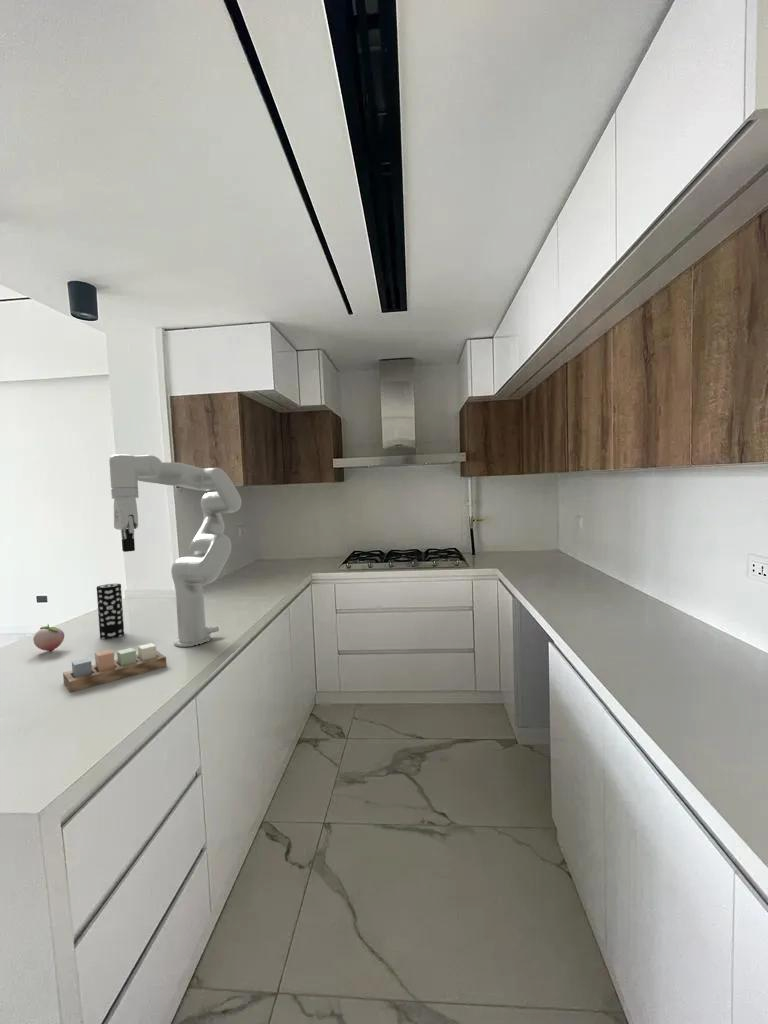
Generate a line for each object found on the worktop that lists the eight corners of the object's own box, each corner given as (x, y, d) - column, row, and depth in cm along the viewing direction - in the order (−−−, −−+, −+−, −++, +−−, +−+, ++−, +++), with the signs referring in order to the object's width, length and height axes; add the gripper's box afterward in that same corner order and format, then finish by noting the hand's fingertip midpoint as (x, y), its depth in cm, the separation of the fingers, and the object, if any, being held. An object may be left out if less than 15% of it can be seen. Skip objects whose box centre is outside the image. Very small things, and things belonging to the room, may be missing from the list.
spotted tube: (94, 638, 184) (91, 587, 183) (112, 632, 192) (109, 583, 191) (111, 639, 182) (108, 588, 181) (129, 633, 190) (125, 583, 189)
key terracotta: (111, 665, 147) (110, 649, 146) (114, 668, 144) (113, 652, 143) (95, 669, 144) (94, 652, 144) (99, 672, 141) (98, 656, 141)
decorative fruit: (27, 655, 167) (25, 627, 166) (49, 647, 175) (47, 621, 174) (49, 656, 165) (47, 628, 164) (70, 648, 173) (68, 621, 172)
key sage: (132, 663, 151) (131, 647, 151) (136, 666, 148) (135, 650, 148) (118, 666, 148) (117, 651, 148) (121, 670, 145) (120, 654, 145)
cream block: (152, 658, 155) (151, 642, 155) (157, 661, 152) (156, 645, 152) (138, 661, 152) (137, 646, 152) (142, 664, 149) (141, 649, 149)
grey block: (89, 674, 143) (88, 657, 142) (92, 677, 140) (91, 661, 139) (72, 678, 140) (71, 661, 140) (75, 682, 137) (74, 665, 137)
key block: (156, 658, 158) (155, 649, 158) (166, 666, 151) (166, 657, 151) (63, 682, 141) (63, 672, 141) (70, 692, 133) (69, 681, 133)
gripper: (105, 494, 154) (109, 550, 154) (118, 493, 143) (122, 554, 143) (131, 493, 159) (134, 548, 159) (145, 492, 148) (148, 551, 149)
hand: (128, 551), depth 151 cm, fingers closed
